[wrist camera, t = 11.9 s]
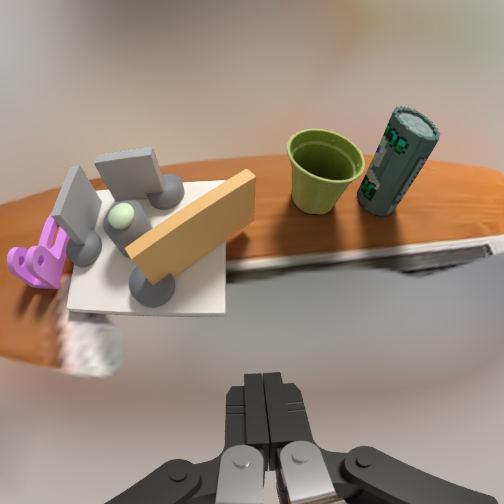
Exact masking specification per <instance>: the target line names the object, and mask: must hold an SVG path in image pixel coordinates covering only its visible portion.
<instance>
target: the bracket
mask: <svg viewBox="0 0 504 504" xmlns="http://www.w3.org/2000/svg"><path fill="white" fill-rule="evenodd" d="M51 214H52V213H51ZM51 214H50V215H49V217H48V218H47V220H46V223H45V225H44V228H43V231H42V234H41V237H40V241H39V244H38V246H32V247H31V248H29V250H28V251H27V250H26V249H25V248H24V247H14V248H12V249H11V250H10V251H9V253H8V257H7V265H8V268H9V270H10V272H11V273H12V274H13V275H15V276H16V277H18V278H19V279H20V280H22V281H23V282H25V283H26V284H28V285H29V286H31V287H32V288H45V289H59V285H60V280H61V275H62V270H63V266H64V262H65V258H66V246H67V243H68V241H69V239H70V237H69V236H68V235H67V233H66V232H65V231H64V230H63V229H62V228H61V227H60V228H59V231H58V235H57V238H56V241H55V244H54V246H53V247H52V248H51V245H52V242H53V238H54V235H55V232H56V229H57V226H58V223H57V222H56V221H55V220H54V219H53V218H52V217H51ZM18 260H19V262H18Z"/></svg>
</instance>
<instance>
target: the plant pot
mask: <svg viewBox="0 0 504 504" xmlns="http://www.w3.org/2000/svg"><path fill="white" fill-rule="evenodd" d="M287 154H288V157H289V159H290V161H291V165H292V198H293V201H294V203H295V205H296V206H297V207H298V208H299V209H301V210H302V211H304V212H306V213H308V214H325V213H327V212H329V211H330V210H331V209H332V208H333V206H334V205H335V204H336V202H337V201H338V199H339V198H340V196H341V195H342V193H343V192H344V190H345V189H346V188H347V186H348V185H349V184H350V183H352V182H353V181H354V180H356V179H357V178H359V177H360V176H361V174H362V173H363V171H364V168H365V161H364V157H363V155H362V153H361V151H360V150H359V149H358V148H357V146H355V144H353V143H352V142H351V141H350V140H348V139H347V138H345V137H344V136H342V135H340V134H337V133H335V132H331V131H328V130H322V129H306V130H302V131H299V132H297V133H296V134H294V135H293V136H292V137H291V138H290V139H289V141H288V144H287Z"/></svg>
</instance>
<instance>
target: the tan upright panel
mask: <svg viewBox="0 0 504 504" xmlns="http://www.w3.org/2000/svg"><path fill="white" fill-rule="evenodd" d="M255 186H256V176H255V175H254V174H252V173H251V172H250V171H249V170H248V169H245V170H244V171H242V172H240V173H239V174H237V175H235V176H234V177H232V178H230V179H229V180H227V181H225V182H224V183H222V184H220V185H219V186H217V187H215V188H214V189H212V190H210V191H209V192H207V193H206V194H204V195H202V196H201V197H199V198H198V199H196V200H195V201H193V202H191V203H190V204H188V205H187V206H185V207H184V208H182V209H181V210H179V211H178V212H176V213H175V214H173V215H172V216H170V217H169V218H167V219H166V220H164V221H163V222H161V223H160V224H158V225H157V226H155V227H154V228H152V229H151V230H150V231H148V232H147V233H145V234H144V235H142V236H141V237H140V238H138V239H137V240H135V241H134V242H133V243H131V244H130V245H128V246H127V247H126V248H125V250H126V251H127V253H128V255H129V256H130V258H131V259H132V261H133V262H134V263H135V265H136V266H137V267H136V268H135V269H134V270H133V272H132V273H131V275H130V278H129V290H130V292H131V294H132V296H133V297H134V298H135V299H136V300H137V301H138V302H139V303H141V304H142V305H144V306H146V307H150V308H155V307H159V306H162V305H164V304H165V303H166V302H168V301H169V300H170V298H171V297H172V295H173V293H174V290H175V279H174V277H176V276H177V275H179V274H180V273H181V272H183V271H184V270H185V269H187V268H188V267H190V266H191V265H192V264H194V263H195V262H196V261H198V260H199V259H201V258H202V257H203V256H205V255H206V254H208V253H209V252H210V251H212V250H213V249H215V248H216V247H217V246H219V245H220V244H222V243H223V242H224V241H226V240H227V239H229V238H230V237H231V236H233V235H234V234H236V233H237V232H239V231H240V230H241V229H243V228H244V227H246V226H247V225H248V224H250V223H251V222H253V221H254V209H255Z"/></svg>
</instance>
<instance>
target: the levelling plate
mask: <svg viewBox="0 0 504 504" xmlns="http://www.w3.org/2000/svg"><path fill="white" fill-rule="evenodd" d="M94 164H95V166H96V168H97V169H98V171H99V173H100V175H101V177H102V179H103V181H104V182H105V184H106V186H107V188H108V189H109V190H101V191H95V190H94V188H93V186H92V185H91V183H90V181H89V180H88V178H87V177H86V175H85V173H84V171H83V170H82V168H81V166H80V165H76V166H72V167H71V168H70V170H69V173H68V175H67V177H66V179H65V181H64V184H63V186H62V189H61V191H60V193H59V196H58V198H57V201H56V204H55V206H54V209H53V212H52V214H51V217H52V218H53V219H54V220H55V221H56V222H57V223H58V225H59V226H60V227H61V228H62V229H63V230H64V231H65V232H66V233H67V235H68V236H69V237H70V239H69V241H68V243H67V246H66V254H67V257H68V258H69V260H70V261H72V262H73V263H74V269H73V273H72V278H71V283H70V289H69V294H68V300H67V307H66V308H67V309H69V310H70V311H72V312H82V313H96V314H115V315H138V316H188V317H189V316H190V317H193V316H194V317H195V316H196V317H197V316H226V241H224V242H223V243H222V244H220V245H219V246H217V247H216V248H215V249H213V250H212V251H210V252H209V253H208V254H206V255H205V256H203V257H202V258H201V259H199V260H198V261H196V262H195V263H194V264H192V265H191V266H190V267H188V268H187V269H185V270H184V271H183V272H181V273H180V274H179V275H177V276H176V277H174V279H175V290H174V293H173V295H172V297H171V298H170V300H169V301H168V302H166V303H165V304H164V305H162V306H159V307H155V308H150V307H146V306H144V305H142V304H141V303H139V302H138V301H137V300H136V299H135V298H134V297H133V296H132V294H131V292H130V290H129V278H130V275H131V273H132V272H133V270H134V269H135V268H136V267H137V266H136V265H135V263H134V262H133V261H132V259H131V258H130V256H129V255H128V253H127V251H126V250H125V248H126V247H127V246H128V245H130V244H131V243H133V242H134V241H135V240H137V239H138V238H140V237H141V236H142V235H144V234H145V233H147V232H148V231H150V230H151V229H152V228H154V227H155V226H157V225H158V224H160V223H161V222H163V221H164V220H166V219H167V218H169V217H170V216H172V215H173V214H175V213H176V212H178V211H179V210H181V209H182V208H184V207H185V206H187V205H188V204H190V203H191V202H193V201H195V200H196V199H198V198H199V197H201V196H202V195H204V194H206V193H207V192H209V191H210V190H212V189H214V188H215V187H217V186H219V185H220V184H222V183H224V182H225V181H226V180H223V181H201V182H184V183H182V180H181V179H180V177H178V176H177V175H174V174H163V175H162V173H161V170H160V167H159V165H158V161H157V158H156V155H155V152H154V149H153V147H147V148H139V149H132V150H125V151H119V152H113V153H107V154H102V155H98V156H97V158H96V160H95V162H94Z"/></svg>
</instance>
